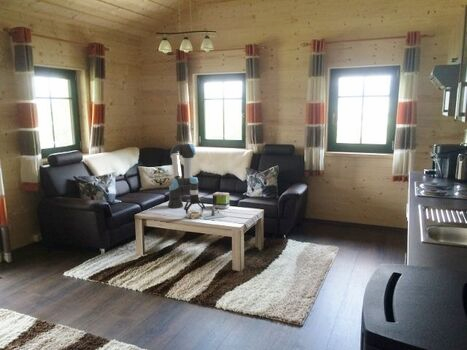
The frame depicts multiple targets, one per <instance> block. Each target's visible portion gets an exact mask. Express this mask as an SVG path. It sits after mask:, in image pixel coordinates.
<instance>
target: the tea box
mask: <svg viewBox="0 0 467 350" xmlns="http://www.w3.org/2000/svg"><path fill="white" fill-rule="evenodd" d="M212 208H215V209H221V210H222V209H224V210H227V209H228V208H230V193H229V192H220V191H216V192H214V193H212Z"/></svg>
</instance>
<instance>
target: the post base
mask: <svg viewBox="0 0 467 350" xmlns="http://www.w3.org/2000/svg"><path fill="white" fill-rule="evenodd" d="M210 210H211V212H209V213H202V216H203V217H204V218H203V217H202V216H201V217H202V218H203V219H204V220H215V219H220V218H226V217H227V216H226V215H225V214H223V212H221V211H219V213H217V212H215V211H216V208H213V207H211V209H210Z"/></svg>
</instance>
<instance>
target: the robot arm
mask: <svg viewBox="0 0 467 350" xmlns="http://www.w3.org/2000/svg"><path fill="white" fill-rule="evenodd" d="M169 156H170V159H171V162H172V171H173V172H172V173H173V178H172V184H170V185H169V187H168V188H169V190H168V192H169V194H168V195H169V197H168V198H169V200H168V203H167V204H168V205H167V207H168V208H169V209H179V208H183V210H184V211H185V214H186V217H187V218H190V217H189V210H190V208H191V207H192V205H196V204H197V205H198V206H199V207H200V214H201V217H202V214H203V212H204V209H206V207H205V204H204V202H203V200H202V198H201V197H200V198H199V180H198V177H196V176H193V159H194V157H195V156H196V148H195V145H194V144H193V143H178V144H175V145H174V146H172V148H171V150H170V155H169ZM181 157H182V159H183V173H182V166H181ZM182 197H189V199H186V203H185V205H184V204H183V201H182ZM199 202H200V203H199ZM183 206H184V207H183Z"/></svg>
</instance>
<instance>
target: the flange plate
mask: <svg viewBox="0 0 467 350" xmlns="http://www.w3.org/2000/svg"><path fill="white" fill-rule="evenodd" d="M188 213H189V217H188V218H191V220H196V219H198V220H199V219H202V216H201V212H199V211H198V210H193V209H189V211H188Z"/></svg>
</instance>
